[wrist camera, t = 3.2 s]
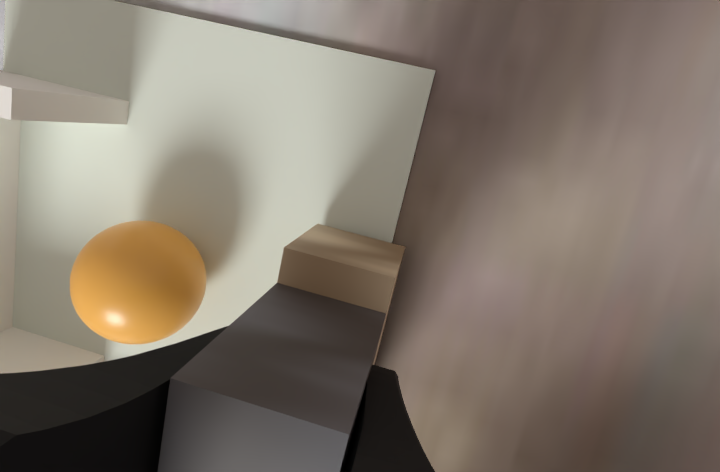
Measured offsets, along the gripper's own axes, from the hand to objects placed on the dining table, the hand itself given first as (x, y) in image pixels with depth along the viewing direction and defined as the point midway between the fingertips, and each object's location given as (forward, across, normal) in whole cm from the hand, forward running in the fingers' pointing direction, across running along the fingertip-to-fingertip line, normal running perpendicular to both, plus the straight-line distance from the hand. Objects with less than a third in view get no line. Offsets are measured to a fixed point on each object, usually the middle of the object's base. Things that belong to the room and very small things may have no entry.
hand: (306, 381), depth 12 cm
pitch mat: (+5, +6, +1) cm, 8 cm away
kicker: (+4, 0, +2) cm, 5 cm away
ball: (+3, +6, 0) cm, 7 cm away
